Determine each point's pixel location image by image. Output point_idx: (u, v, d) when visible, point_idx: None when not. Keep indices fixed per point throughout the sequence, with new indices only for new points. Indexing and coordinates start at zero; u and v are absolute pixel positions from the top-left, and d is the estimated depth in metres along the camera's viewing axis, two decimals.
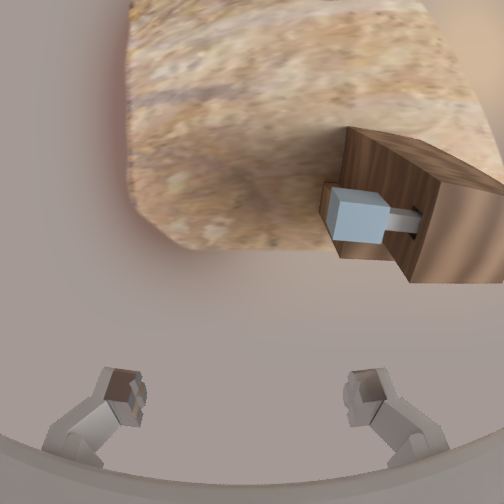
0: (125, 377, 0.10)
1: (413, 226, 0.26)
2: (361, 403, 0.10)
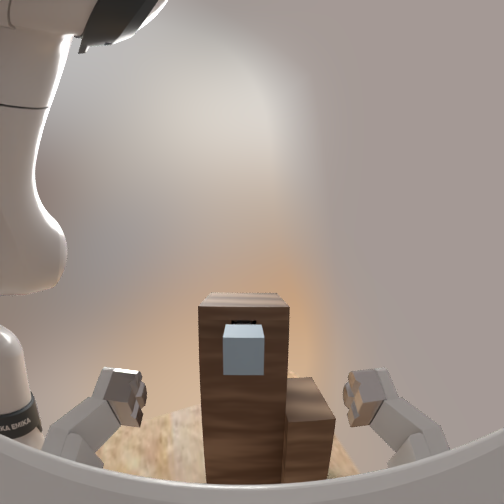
0: (125, 377, 0.10)
1: (244, 325, 0.34)
2: (361, 403, 0.10)
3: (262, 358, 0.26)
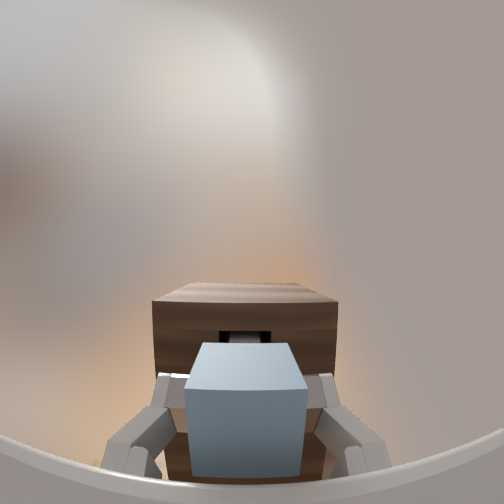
0: (185, 382, 0.10)
1: (247, 341, 0.16)
2: None
3: (299, 441, 0.08)
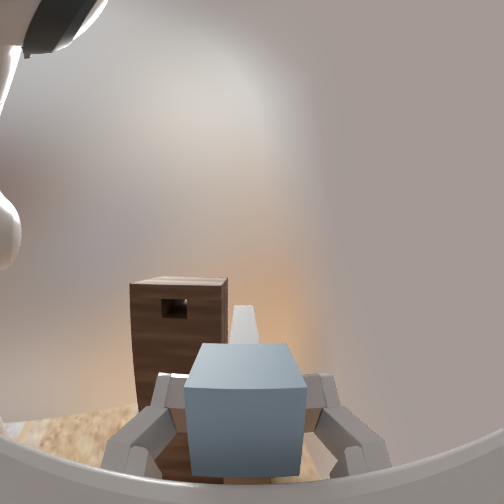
0: (185, 382, 0.10)
1: (247, 343, 0.16)
2: None
3: (299, 440, 0.08)
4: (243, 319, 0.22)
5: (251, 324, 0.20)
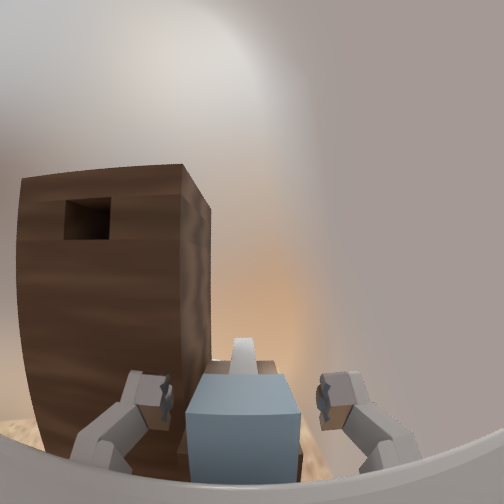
0: (154, 380, 0.10)
1: (246, 373, 0.16)
2: (330, 407, 0.09)
3: (294, 462, 0.08)
4: (243, 351, 0.22)
5: (250, 356, 0.20)
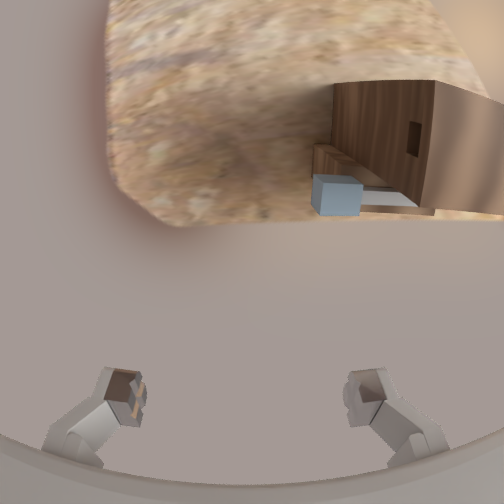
0: (125, 377, 0.10)
1: (383, 199, 0.33)
2: (361, 403, 0.10)
3: (314, 208, 0.33)
4: None
5: (413, 203, 0.33)
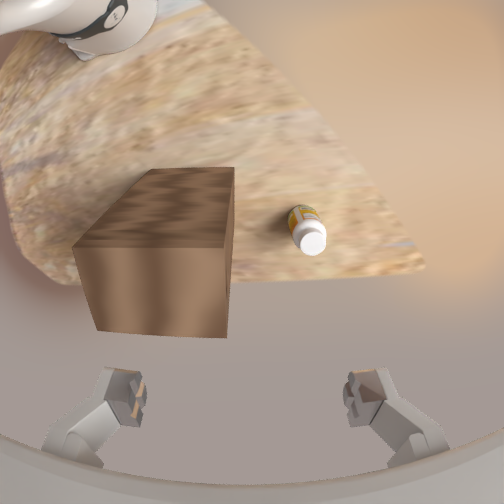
0: (125, 377, 0.10)
1: None
2: (361, 403, 0.10)
3: None
4: None
5: None
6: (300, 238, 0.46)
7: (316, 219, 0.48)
